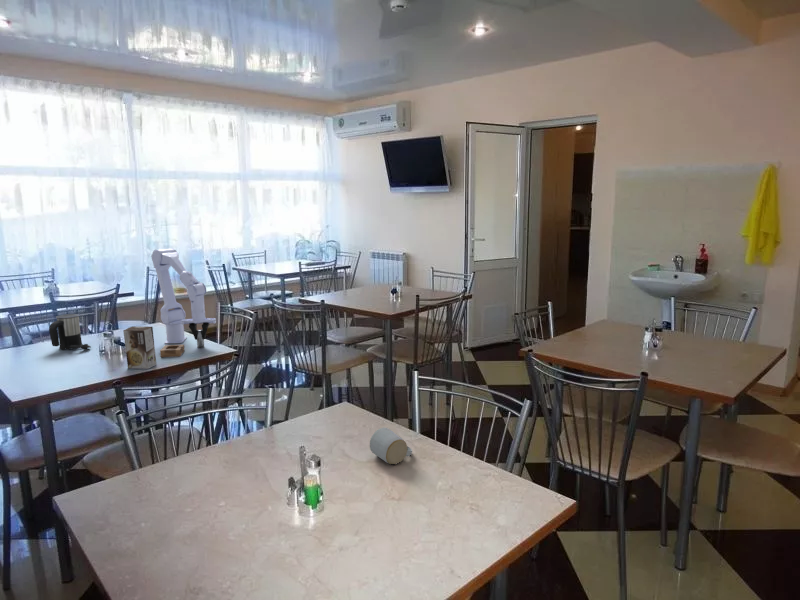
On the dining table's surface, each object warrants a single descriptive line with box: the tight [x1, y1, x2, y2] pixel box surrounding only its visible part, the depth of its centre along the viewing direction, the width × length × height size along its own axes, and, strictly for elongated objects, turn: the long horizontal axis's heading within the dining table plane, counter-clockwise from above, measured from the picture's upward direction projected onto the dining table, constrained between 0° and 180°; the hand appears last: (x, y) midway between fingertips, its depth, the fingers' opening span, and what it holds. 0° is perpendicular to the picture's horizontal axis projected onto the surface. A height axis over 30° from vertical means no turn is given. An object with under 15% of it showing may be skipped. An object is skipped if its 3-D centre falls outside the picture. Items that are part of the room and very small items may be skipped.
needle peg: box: [196, 329, 205, 349], centre depth 243 cm, size 3×3×8 cm
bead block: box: [159, 344, 186, 358], centre depth 233 cm, size 8×8×3 cm
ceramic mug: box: [369, 427, 413, 465], centre depth 141 cm, size 11×8×8 cm
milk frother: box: [48, 313, 92, 351], centre depth 240 cm, size 14×16×15 cm
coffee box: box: [122, 325, 157, 370], centre depth 215 cm, size 9×6×16 cm
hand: (200, 339), depth 243 cm, fingers closed on needle peg, 3 cm apart
